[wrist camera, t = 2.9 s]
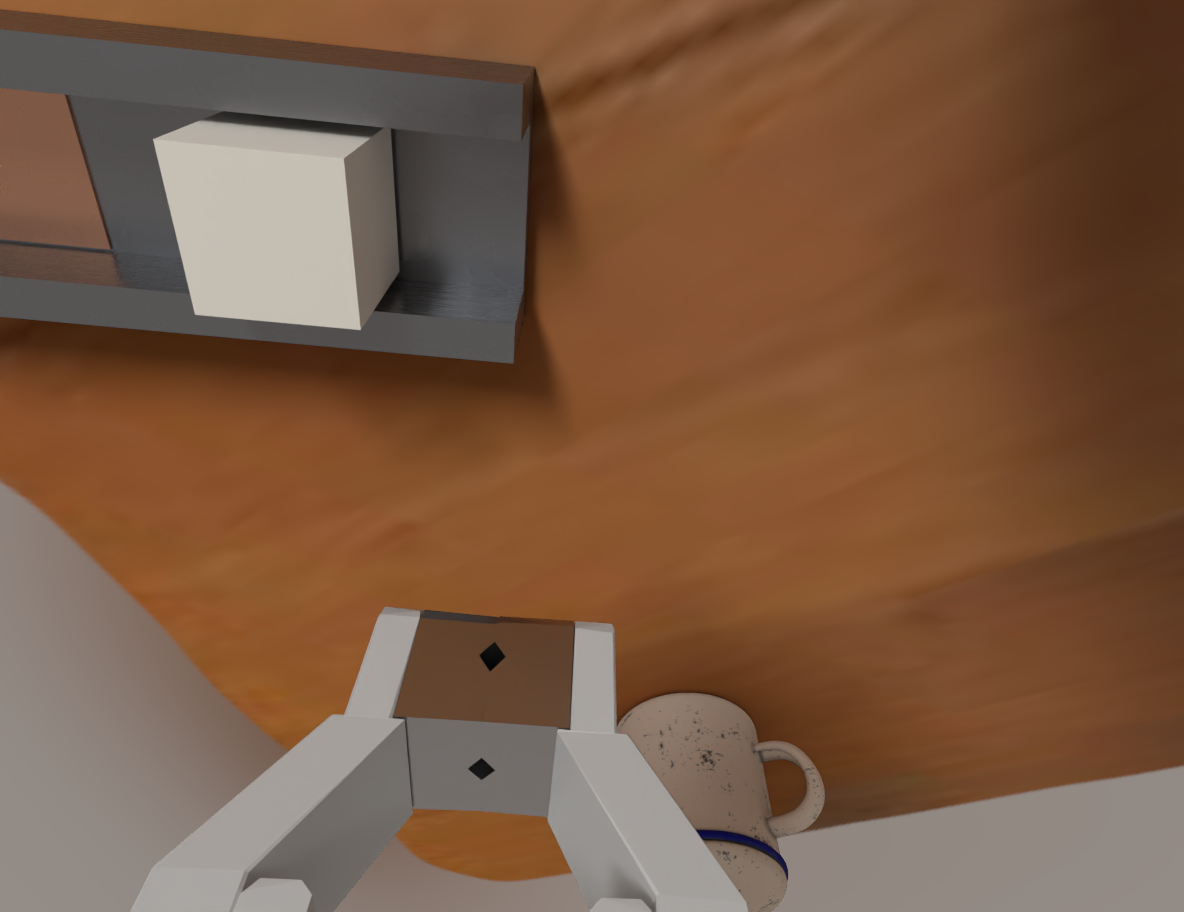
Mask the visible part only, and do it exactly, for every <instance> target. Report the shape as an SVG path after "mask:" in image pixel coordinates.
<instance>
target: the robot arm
mask: <svg viewBox="0 0 1184 912" xmlns="http://www.w3.org/2000/svg"><path fill="white" fill-rule="evenodd" d="M412 809H439V810H469V811H487V812H498V813H509V814H521V815H532V816H543V817H548V822H549V825H550V827H551V829H552V831H553V833H554V835H555V837H556V839H557V841H558V844H559V846H560V848H561V850H562V852H563V854H564V856H565V858H566V861H567V863H568V865H569V867H570V869H571V871H572V873H573V875H574V877H575V880H576V882H577V884H578V886H579V888H580V890H581V892H582V894H583V897H584V899H585V901H586V903H587V905H588V907H589V909H590V912H748V909H747V903H746V901H745V900H744V899H743V897H742V896H741V894H740V893H739V891H738V890H737V889H736V887H735V886H734V884H733V883H732V881H731V880H730V879H729V877H728V876H727V874H726V873H725V871H724V870H723V869H722V867H721V866H720V864H719V863H718V861H717V860H716V859H715V857H714V856H713V854H712V853H711V851H710V850H709V848H708V847H707V846H706V844H705V843H704V841H703V840H702V838H701V837H700V836H699V834H698V833H697V831H696V830H695V828H694V827H693V826H692V824H691V823H690V821H689V820H688V818H687V817H686V816H685V814H684V813H683V811H682V810H681V808H680V807H679V806H678V804H677V803H676V801H675V800H674V798H673V797H672V796H671V794H670V793H669V791H668V790H667V788H666V787H665V786H664V784H663V783H662V781H661V780H660V778H659V777H658V776H657V774H656V773H655V771H654V770H653V768H652V767H651V766H650V764H649V763H648V761H647V760H646V758H645V757H644V756H643V754H642V753H641V751H640V750H639V748H638V747H637V746H636V744H635V743H634V741H633V740H632V738H631V737H630V736H629V734H621V733H617V716H616V669H615V630H614V628H613V625H612V624H607V623H592V622H578V621H575V623H574V621H568V620H552V619H536V618H519V617H503V616H500V617H491V616H481V615H471V614H461V613H451V612H441V611H431V610H415V609H404V608H394V607H385V608H384V609H383V611H382V612H381V613H380V615H379V616H378V619H377V622H376V625H375V627H374V630H373V633H372V636H371V639H370V642H369V645H368V648H367V651H366V654H365V656H364V659H363V662H362V665H361V668H360V671H359V674H358V677H357V680H356V683H355V685H354V688H353V691H352V694H351V697H350V700H349V703H348V706H347V709H346V711H345V714H344V715H338V714H332V715H331V716H330V717H328V718H327V719H326V720H325V721H324V722H323V723H321V724H320V725H319V726H318V727H317V728H315V729H314V730H313V731H312V732H311V733H310V734H308V735H307V736H306V737H305V738H304V739H303V740H301V741H300V742H299V743H298V744H297V745H296V746H294V747H293V748H292V749H291V750H290V751H288V752H287V753H286V754H285V755H284V756H283V757H281V758H280V759H279V760H278V761H277V762H276V763H274V764H273V765H272V766H271V767H270V768H269V769H267V770H266V771H265V772H264V773H263V774H261V775H260V776H259V777H258V778H257V779H256V780H254V781H253V782H252V783H251V784H250V785H249V786H247V787H246V788H245V789H244V790H243V791H241V793H239V794H238V795H237V796H236V797H234V798H233V799H232V800H231V801H230V802H229V803H227V804H226V805H225V806H224V807H223V808H222V809H220V810H219V811H218V812H217V813H216V814H214V815H213V816H212V817H211V818H210V819H209V820H208V821H206V822H205V823H204V824H203V825H202V826H201V827H199V828H198V829H197V830H196V831H195V832H193V833H192V834H191V835H190V836H189V837H187V839H185V840H184V841H183V842H182V843H180V844H179V845H178V846H177V847H176V848H175V849H173V850H172V851H171V852H170V853H169V854H168V855H167V856H165V857H164V858H163V859H162V860H161V861H159V862H158V863H157V864H156V865H155V866H153V868H152V870H151V872H150V874H149V876H148V878H147V880H146V882H145V884H144V886H143V888H142V890H141V892H140V894H139V896H138V898H137V900H136V902H135V904H134V906H133V908H132V910H131V912H333V911H334V910H335V909H336V908H337V907H338V905H339V904H340V902H341V901H342V900H343V899H344V898H345V897H346V895H347V894H348V893H349V891H350V890H351V889H352V888H353V887H354V885H355V884H356V883H357V882H358V880H359V879H360V878H361V877H362V875H363V874H364V873H365V872H366V870H367V869H368V868H369V867H370V866H371V864H372V863H373V862H374V861H375V859H376V858H377V857H378V856H379V854H380V853H381V852H382V851H383V849H384V848H385V847H386V846H387V845H388V843H389V842H390V841H391V840H392V838H393V837H394V836H395V835H396V833H397V832H398V831H399V830H400V828H401V827H402V826H403V825H404V823H405V822H406V821H407V820H408V819H409V817H410V816H411V815H412V814H413V811H412Z"/></svg>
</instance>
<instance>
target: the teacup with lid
mask: <svg viewBox="0 0 1184 912" xmlns="http://www.w3.org/2000/svg"><path fill="white" fill-rule="evenodd" d="M617 733H621V734H629V736H630V737H631V738H632V740H633V741H634V743H635V744H636V746H637V747H638V748H639V750H640V751H641V753H642V754H643V756H644V757H645V758H646V760H647V761H648V763H649V764H650V766H651V767H652V768H653V770H654V771H655V773H656V774H657V776H658V777H659V778H660V780H661V781H662V783H663V784H664V786H665V787H666V788H667V790H668V791H669V793H670V794H671V796H672V797H673V798H674V800H675V801H676V803H677V804H678V806H679V807H680V808H681V810H682V811H683V813H684V814H685V816H686V817H687V818H688V820H689V821H690V823H691V824H692V826H693V827H694V828H695V830H696V831H697V833H698V834H699V836H700V837H701V838H702V840H703V841H704V843H705V844H706V846H707V847H708V848H709V850H710V851H711V853H712V854H713V856H714V857H715V859H716V860H717V861H718V863H719V864H720V866H721V867H722V869H723V870H724V871H725V873H726V874H727V876H728V877H729V879H730V880H731V881H732V883H733V884H734V886H735V887H736V889H737V890H738V891H739V893H740V894H741V896H742V897H743V899H744V900H745V901H746V903H747V909H748V912H771V911H772V910H773V909H775V908H776V907H777V906H778V904H779V903H780V902H781V900H782V898H783V897H784V894H785V891H786V888H787V880H788V869H787V866H786V863H785V861H784V859H783V858H782V857H781V855H780V853H779V848H778V842H777V838H779V837H784V836H788V835H792V834H795V833H798V832H800V831H803V830H804V829H806V828H808V827H809V826H810V825H811V824H812V823H813V822H814V821H815V820H816V819H817V817H818V816H819V814H820V813H821V811H822V808H823V805H824V800H825V791H824V785H823V782H822V779H821V776H820V774H819V772H818V770H817V768H816V767H815V765H814V764H813V762H812V761H811V760H810V758H809V757H808V756H807V755H806V754H805V753H804V752H803V751H802V750H800V749H799V748H797V747H796V746H794V745H792V744H790V743H787V742H783V741H767V742H761V743H758V738H757V733H756V729H755V726H754V724H753V722H752V720H751V719H750V717H749V716H748V715H747V714H746V712H744V711H743V710H742V709H741V708H740V707H738V706H737V705H735V704H733V703H732V702H730V701H728V700H725V699H723V698H720V697H716V696H713V695H708V694H702V693H674V694H668V695H663V696H659V697H655V698H652V699H650V700H647V701H645V702H643V703H641V704H639V705H637V706H636V707H634V708H633V709H631V710H630V711H629V712H628V713H627V714H626V715H625V716H624V717H623V718H622V719H621V721H620V722H619V724H618V726H617ZM778 759H783V760H789V761H791V762H794V763H795V764H797V765H798V766H799V767H801V768H802V770H803V772H804V774H805V777H806V781H807V792H806V795H805V797H804V799H803V801H802V802H801V804H800V805H799V806H798V807H797V808H795V809H794V810H792V811H791V812H788V813H786V814H783V815H779V816H775V817H773V816H772V811H771V806H770V801H769V795H768V790H767V785H766V780H765V775H764V769H763V764H762V763H763V762H766V761H771V760H778Z"/></svg>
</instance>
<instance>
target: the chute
mask: <svg viewBox="0 0 1184 912" xmlns="http://www.w3.org/2000/svg"><path fill="white" fill-rule="evenodd" d="M534 78H535V67H531V66H522V65H513V64H503V63H494V62H485V61H476V60H466V59H457V58H448V57H438V56H429V55H420V54H410V53H401V52H392V51H382V50H373V49H364V48H354V47H345V46H336V45H326V44H317V43H308V42H298V41H289V40H280V39H270V38H261V37H252V36H242V35H233V34H224V33H215V32H205V31H196V30H187V29H177V28H168V27H159V26H149V25H140V24H131V23H121V22H112V21H103V20H93V19H84V18H75V17H65V16H56V15H47V14H37V13H28V12H19V11H9V10H0V317H8V318H19V319H30V320H41V321H52V322H63V323H74V324H84V325H95V326H106V327H117V328H128V329H139V330H150V331H161V332H172V333H183V334H194V335H205V336H216V337H227V338H238V339H249V340H260V341H270V342H281V343H292V344H303V345H314V346H325V347H336V348H347V349H358V350H369V351H380V352H391V353H402V354H413V355H424V356H435V357H446V358H457V359H467V360H478V361H489V362H500V363H511V364H514V360H515V355H516V351H517V347H518V342H519V338H520V334H521V329H522V325H523V321H524V315H525V291H526V267H527V244H528V220H529V196H530V172H531V149H532V125H533V101H534ZM222 111H228V112H238V113H247V114H257V115H267V116H276V117H286V118H296V119H306V120H315V121H325V122H335V123H344V124H354V125H364V126H373V127H383V128H391V143H392V159H393V175H394V191H395V207H396V223H397V239H398V255H399V271H400V272H399V273H398V275H397V276H396V278H395V279H394V281H393V282H392V284H391V285H390V287H389V288H388V290H387V291H386V293H385V294H384V296H383V297H382V299H381V300H380V302H379V303H378V305H377V306H376V308H375V309H374V311H373V312H372V314H371V315H370V317H369V318H368V320H367V321H366V323H365V324H364V326H363V327H362V329H361V330H354V329H344V328H333V327H322V326H311V325H300V324H289V323H279V322H268V321H257V320H246V319H235V318H225V317H214V316H203V315H195V313H194V308H193V304H192V300H191V296H190V292H189V287H188V283H187V279H186V275H185V271H184V267H183V262H182V258H181V254H180V250H179V246H178V242H177V237H176V233H175V229H174V225H173V221H172V216H171V212H170V208H169V204H168V200H167V196H166V191H165V187H164V183H163V179H162V175H161V171H160V166H159V162H158V158H157V154H156V150H155V145H154V141H153V139H155V138H157V137H160V136H162V135H165V134H167V133H170V132H172V131H175V130H177V129H180V128H182V127H185V126H187V125H190V124H192V123H195V122H197V121H200V120H202V119H205V118H207V117H210V116H212V115H215V114H217V113H220V112H222Z"/></svg>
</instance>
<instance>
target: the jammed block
mask: <svg viewBox="0 0 1184 912" xmlns="http://www.w3.org/2000/svg"><path fill="white" fill-rule="evenodd" d="M153 141H154V145H155V150H156V154H157V158H158V162H159V166H160V171H161V175H162V179H163V183H164V187H165V191H166V196H167V200H168V204H169V208H170V212H171V216H172V221H173V225H174V229H175V233H176V237H177V242H178V246H179V250H180V254H181V258H182V262H183V267H184V271H185V275H186V279H187V283H188V287H189V292H190V296H191V300H192V304H193V308H194V313H195V315H203V316H214V317H225V318H235V319H246V320H257V321H268V322H279V323H289V324H300V325H311V326H322V327H333V328H344V329H354V330H361V329H362V327H363V326H364V324H365V323H366V321H367V320H368V318H369V317H370V315H371V314H372V312H373V311H374V309H375V308H376V306H377V305H378V303H379V302H380V300H381V299H382V297H383V296H384V294H385V293H386V291H387V290H388V288H389V287H390V285H391V284H392V282H393V281H394V279H395V278H396V276H397V275H398V273H399V272H400V271H399V255H398V239H397V223H396V207H395V191H394V175H393V159H392V143H391V128H383V127H373V126H364V125H354V124H344V123H335V122H325V121H315V120H306V119H296V118H286V117H276V116H267V115H257V114H247V113H238V112H228V111H222V112H220V113H217V114H215V115H212V116H210V117H207V118H205V119H202V120H200V121H197V122H195V123H192V124H190V125H187V126H185V127H182V128H180V129H177V130H175V131H172V132H170V133H167V134H165V135H162V136H160V137H157V138H155V139H153Z"/></svg>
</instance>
